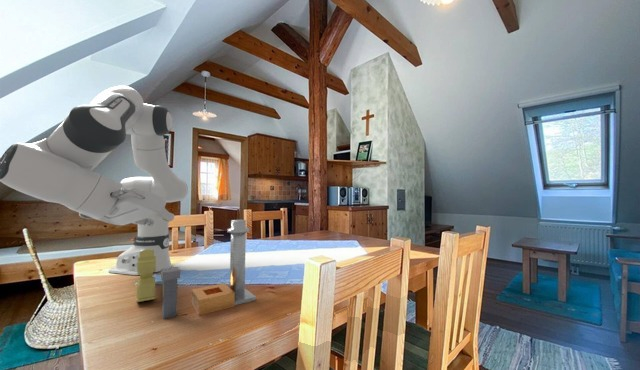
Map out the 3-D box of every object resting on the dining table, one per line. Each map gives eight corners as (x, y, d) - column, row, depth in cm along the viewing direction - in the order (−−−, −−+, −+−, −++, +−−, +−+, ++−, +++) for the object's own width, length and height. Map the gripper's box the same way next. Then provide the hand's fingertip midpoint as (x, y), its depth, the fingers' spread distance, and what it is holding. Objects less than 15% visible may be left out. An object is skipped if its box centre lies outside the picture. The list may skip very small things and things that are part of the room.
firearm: (153, 291, 97) (154, 250, 100) (155, 301, 73) (156, 246, 76) (139, 294, 95) (140, 251, 98) (135, 305, 70) (137, 248, 73)
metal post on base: (198, 315, 70) (200, 224, 70) (191, 303, 77) (193, 221, 78) (256, 300, 79) (257, 221, 80) (245, 291, 87) (246, 218, 88)
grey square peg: (161, 320, 67) (162, 272, 67) (159, 314, 70) (160, 269, 70) (179, 316, 69) (180, 270, 70) (176, 310, 73) (177, 266, 73)
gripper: (131, 174, 55) (190, 203, 64) (91, 194, 65) (147, 216, 74) (116, 201, 51) (180, 227, 61) (76, 217, 62) (137, 237, 71)
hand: (161, 221), depth 68 cm, fingers open, 8 cm apart
